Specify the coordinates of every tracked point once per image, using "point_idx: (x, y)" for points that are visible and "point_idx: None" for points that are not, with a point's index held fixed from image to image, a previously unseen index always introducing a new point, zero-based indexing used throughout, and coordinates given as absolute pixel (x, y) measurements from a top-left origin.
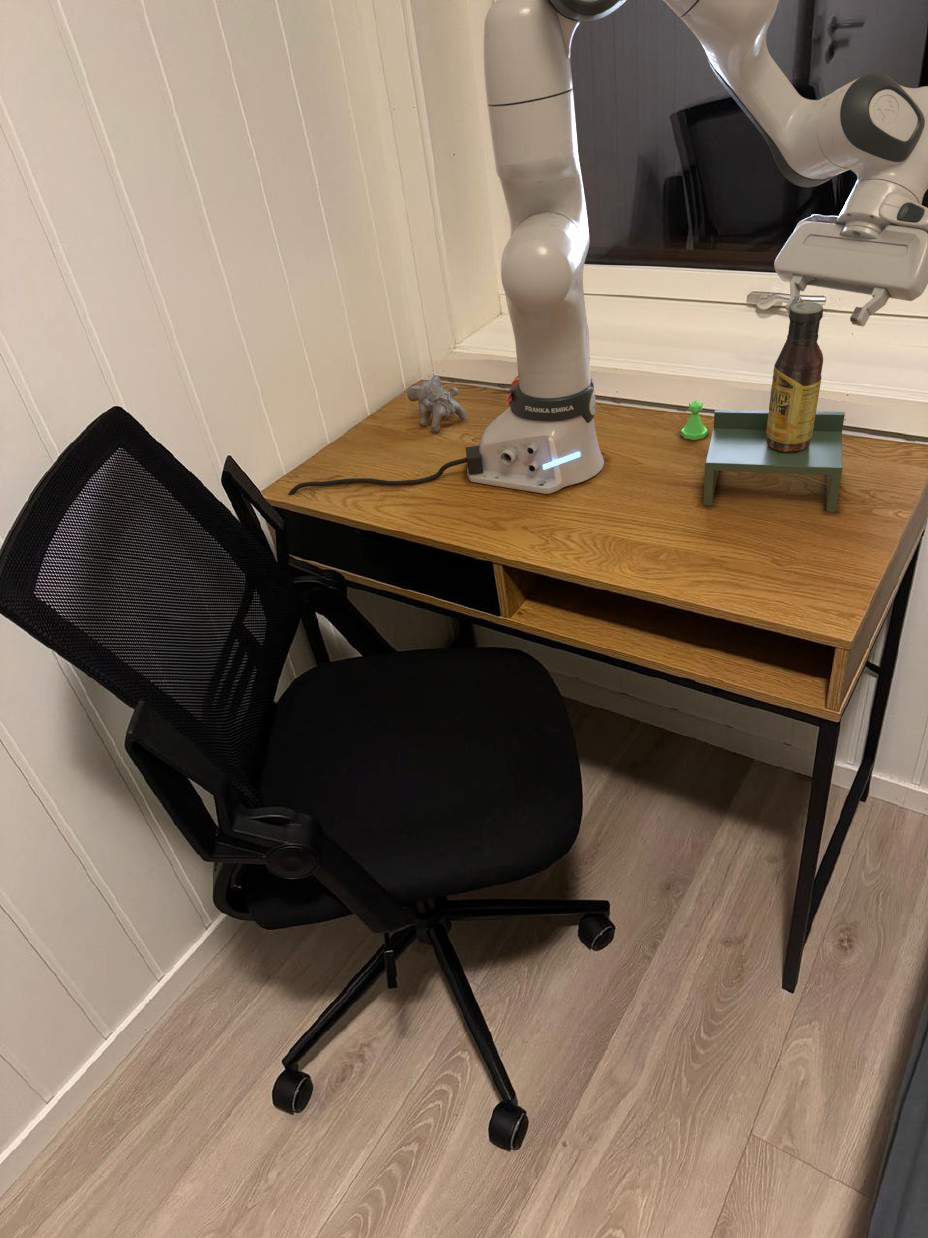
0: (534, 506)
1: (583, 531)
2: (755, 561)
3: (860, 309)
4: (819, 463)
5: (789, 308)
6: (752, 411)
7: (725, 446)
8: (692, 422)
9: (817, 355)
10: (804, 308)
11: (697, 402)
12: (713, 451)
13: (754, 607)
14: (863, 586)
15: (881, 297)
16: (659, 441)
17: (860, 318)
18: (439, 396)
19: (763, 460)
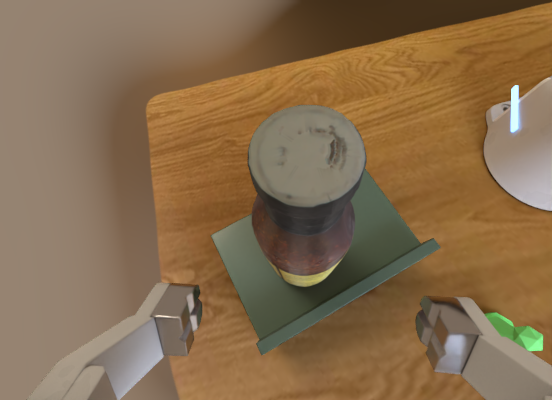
0: (475, 90)
1: (400, 87)
2: (246, 134)
3: (160, 310)
4: (240, 230)
5: (448, 297)
6: (387, 272)
7: (367, 205)
8: (505, 325)
9: (258, 208)
10: (306, 138)
11: (531, 339)
12: (370, 186)
13: (215, 88)
14: (155, 154)
15: (59, 365)
16: (509, 284)
17: (157, 283)
18: None
19: None
